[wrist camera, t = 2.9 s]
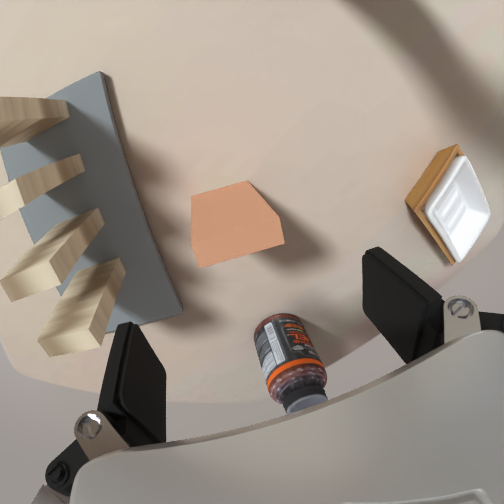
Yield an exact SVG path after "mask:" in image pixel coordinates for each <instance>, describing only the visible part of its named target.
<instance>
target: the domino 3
mask: <svg viewBox="0 0 504 504" xmlns="http://www.w3.org/2000/svg"><path fill="white" fill-rule="evenodd" d="M104 224H105V222H104V220H103V217H102V215H101V212H100V210H99V207H97V208H95V209H92V210H90V211H87V212H85V213H83V214H80V215H78V216H75V217H73V218H71V219H68V220H66V221H64V222H62V223H59V224H57V225H55V226H54V227H53V228H52V229H51V230H50V231H49V232H47V233H46V234H45V235H44V236H43V237H42V238H41V239H40V240H39V241H38V242H37V243H36V244H35V245H34V246H33V247H32V248H31V249H30V250H29V251H28V252H27V253H26V254H25V255H24V256H23V257H22V258H21V259H20V260H19V261H18V262H17V263H16V264H15V265H14V266H13V267H12V269H11V270H10V271H9V272H8V273H7V274H6V275H5V276H4V277H3V278H2V280H1V281H0V283H1V285H2V287H3V288H4V290H5V292H6V294H7V295H8V297H9V299H10V300H11V302H13V301H16V300H18V299H21V298H24V297H27V296H30V295H33V294H36V293H38V292H41V291H44V290H47V289H50V288H53V287H56V286H59V285H62V283H63V282H64V280H65V279H66V277H67V276H68V274H69V273H70V271H71V270H72V268H73V267H74V265H75V264H76V262H77V261H78V259H79V258H80V257H81V255H82V254H83V252H84V251H85V250H86V248H87V247H88V245H89V244H90V243H91V241H92V240H93V239H94V237H95V236H96V235H97V233H98V232H99V231H100V229H101V228H102V227H103V226H104Z"/></svg>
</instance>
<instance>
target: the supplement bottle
mask: <svg viewBox="0 0 504 504" xmlns="http://www.w3.org/2000/svg"><path fill="white" fill-rule="evenodd" d="M254 342H255V346H256V350H257V353H258V357H259V360H260V364H261V367H262V370H263V374H264V378H265V381H266V385H267V387H268V391H269V393H270V396H271V397H272V399H273V400H275V401H276V402H278V403H280V404H283V407H284V408H285V411H286V413H287V415H288V414H291V413H294V412H297V411H300V410H303V409H306V408H308V407H311V406H314V405H317V404H319V403H322V402H325V401H327V400H328V399H327V396H326V394H325V390H324V389H323V388H324V387H325V385H326V382H327V374H326V371H325V368H324V366H323V364H322V362H321V360H320V358H319V356H318V354H317V352H316V351H315V348H314V346H313V345H312V343H311V341H310V339H309V337H308V334H307V333H306V331H305V329H304V326H303V325H302V324H301V322H300V320H299V319H298V318H296V317H295V316H293V315H289V314H277V315H273V316H271V317H269V318H267V319H265V320H264V321H262V322H261V323H260V324H259V325H258V327H257V328H256V330H255V333H254Z"/></svg>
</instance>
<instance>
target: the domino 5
mask: <svg viewBox="0 0 504 504" xmlns="http://www.w3.org/2000/svg"><path fill="white" fill-rule="evenodd" d="M282 244H285V243H284V238H283V232H282V227H281V222H280V218H279V216H278V215H277V214H276V213H275V212H274V211H273V209H272V208H271V207H270V206H269V205H268V204H267V202H266V201H265V200H264V199H263V198H262V197H261V196H260V194H259V193H258V192H257V191H256V190H255V189H254V188H253V186H252V185H251V184H250V183H249V182H248V181H244V182H241V183H237V184H233V185H230V186H226V187H222V188H219V189H215V190H212V191H208V192H205V193H201V194H198V195H195V196H192V202H191V246H192V249H193V252H194V255H195V258H196V260H197V263H198V266H199V268H203V267H206V266H209V265H213V264H216V263H220V262H223V261H227V260H230V259H234V258H237V257H240V256H244V255H247V254H251V253H254V252H258V251H261V250H265V249H268V248H271V247H275V246H278V245H282Z"/></svg>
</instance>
